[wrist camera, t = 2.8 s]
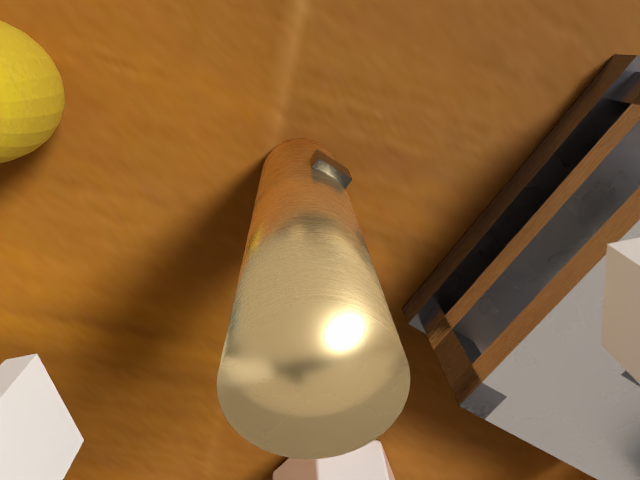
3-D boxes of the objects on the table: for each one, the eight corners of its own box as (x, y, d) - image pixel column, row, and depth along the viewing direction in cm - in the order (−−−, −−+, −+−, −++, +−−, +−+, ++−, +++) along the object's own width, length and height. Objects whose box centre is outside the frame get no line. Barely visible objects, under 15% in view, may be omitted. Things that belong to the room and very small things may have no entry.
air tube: (311, 226, 25) (339, 482, 11) (247, 187, 24) (181, 414, 10) (357, 160, 24) (460, 350, 10) (292, 116, 23) (294, 255, 8)
